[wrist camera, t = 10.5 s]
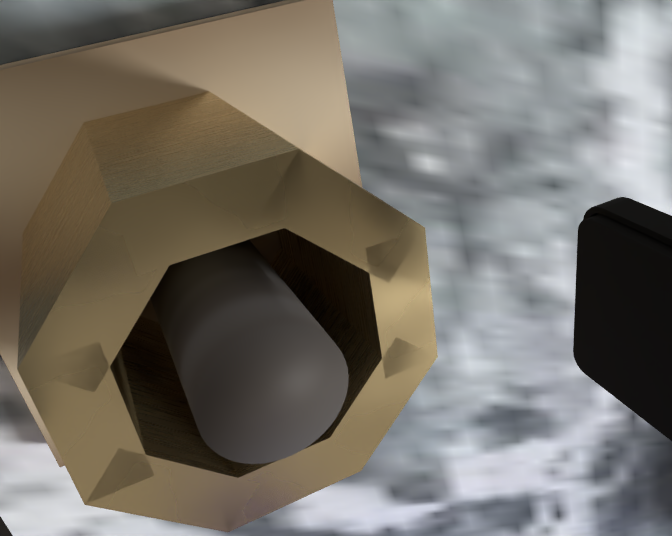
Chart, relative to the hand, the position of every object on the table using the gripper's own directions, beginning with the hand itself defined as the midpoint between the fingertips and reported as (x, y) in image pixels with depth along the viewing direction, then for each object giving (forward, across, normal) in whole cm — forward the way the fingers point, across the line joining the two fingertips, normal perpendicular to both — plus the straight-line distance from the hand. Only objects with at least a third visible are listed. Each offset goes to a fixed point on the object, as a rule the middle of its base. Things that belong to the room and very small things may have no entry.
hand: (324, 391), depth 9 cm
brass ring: (+8, +1, +1) cm, 8 cm away
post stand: (+9, +1, +1) cm, 9 cm away
